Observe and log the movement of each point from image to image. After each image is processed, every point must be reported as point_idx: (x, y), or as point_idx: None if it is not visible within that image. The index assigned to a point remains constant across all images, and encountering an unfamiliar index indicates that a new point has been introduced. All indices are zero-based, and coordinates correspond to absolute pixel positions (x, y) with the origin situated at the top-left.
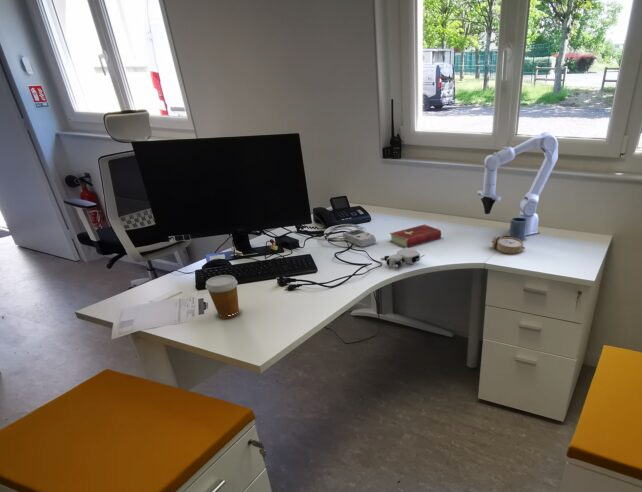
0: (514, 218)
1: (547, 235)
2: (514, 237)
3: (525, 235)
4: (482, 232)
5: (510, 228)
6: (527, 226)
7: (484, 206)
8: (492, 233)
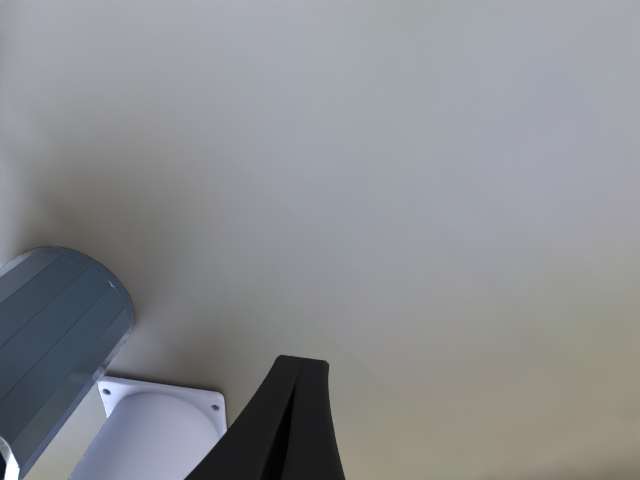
0: (5, 451)
1: (66, 460)
2: (6, 266)
3: (99, 383)
4: (374, 217)
5: (10, 314)
6: (82, 457)
7: (304, 467)
8: (288, 264)
